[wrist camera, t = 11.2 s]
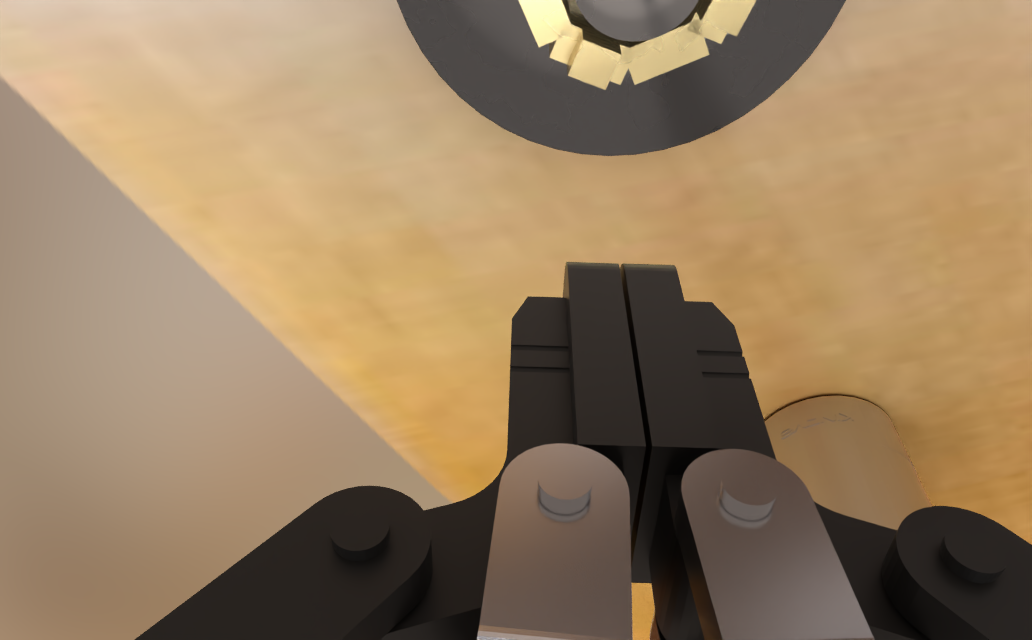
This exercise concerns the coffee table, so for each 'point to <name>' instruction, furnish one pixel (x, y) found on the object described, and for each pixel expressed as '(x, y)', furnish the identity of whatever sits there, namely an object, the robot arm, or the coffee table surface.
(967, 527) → the robot arm
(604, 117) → the plate and cap
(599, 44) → the grey and gold lever
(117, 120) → the coffee table surface
